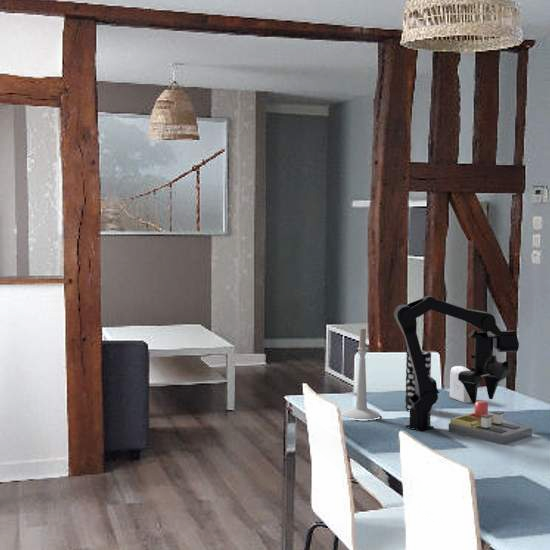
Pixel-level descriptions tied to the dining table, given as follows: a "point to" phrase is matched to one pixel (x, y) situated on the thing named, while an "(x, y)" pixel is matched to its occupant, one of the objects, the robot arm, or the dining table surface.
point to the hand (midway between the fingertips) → (482, 401)
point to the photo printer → (458, 385)
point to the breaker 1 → (486, 420)
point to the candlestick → (361, 387)
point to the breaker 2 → (498, 417)
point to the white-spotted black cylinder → (411, 376)
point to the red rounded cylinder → (481, 408)
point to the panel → (488, 429)
